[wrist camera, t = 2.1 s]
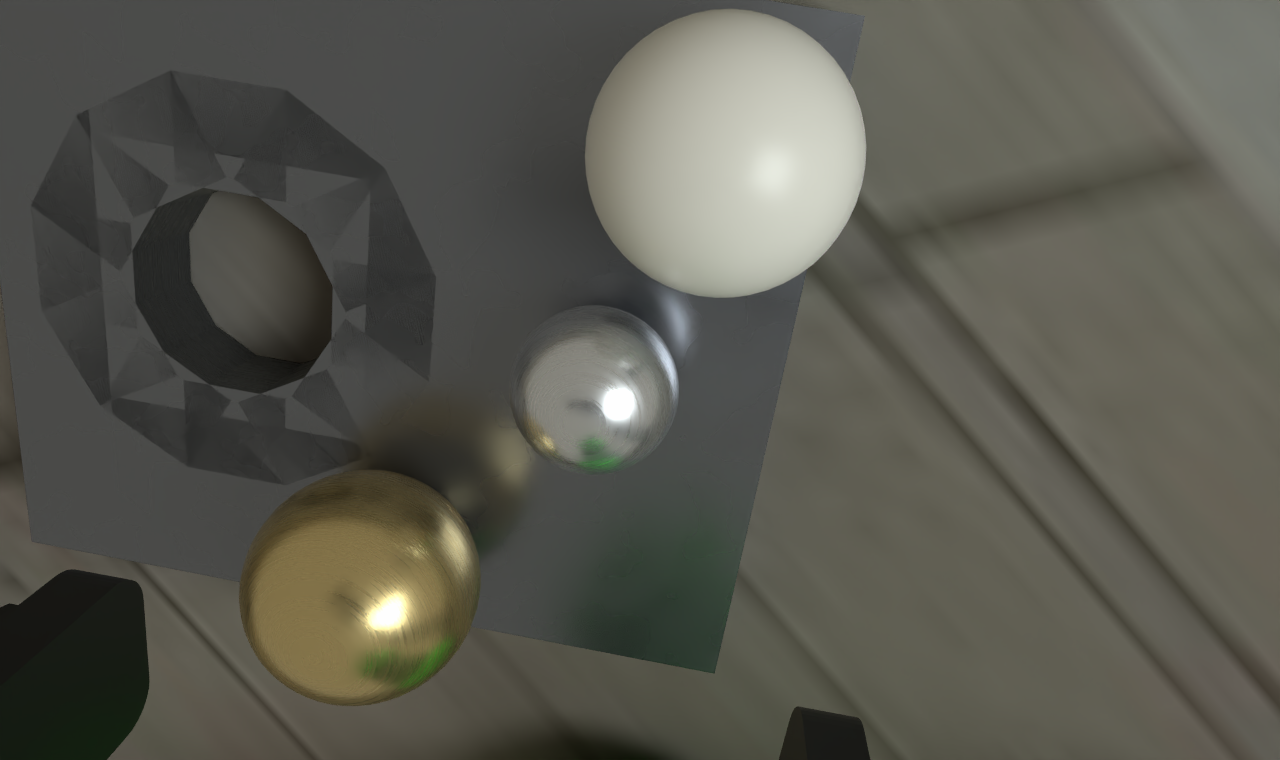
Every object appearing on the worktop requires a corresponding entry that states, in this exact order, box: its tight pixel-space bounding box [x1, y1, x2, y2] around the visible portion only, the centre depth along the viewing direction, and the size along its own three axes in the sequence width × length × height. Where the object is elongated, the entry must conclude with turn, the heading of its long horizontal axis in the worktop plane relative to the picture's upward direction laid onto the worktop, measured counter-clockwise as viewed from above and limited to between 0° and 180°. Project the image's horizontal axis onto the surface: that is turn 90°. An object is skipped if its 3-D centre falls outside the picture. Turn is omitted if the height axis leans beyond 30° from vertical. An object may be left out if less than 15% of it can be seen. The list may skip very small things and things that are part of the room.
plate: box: [0, 0, 865, 674], centre depth 24 cm, size 21×18×2 cm
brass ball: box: [239, 470, 481, 706], centre depth 22 cm, size 6×6×6 cm
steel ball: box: [509, 305, 679, 475], centre depth 20 cm, size 4×4×4 cm
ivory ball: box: [585, 9, 866, 298], centre depth 17 cm, size 6×6×6 cm
